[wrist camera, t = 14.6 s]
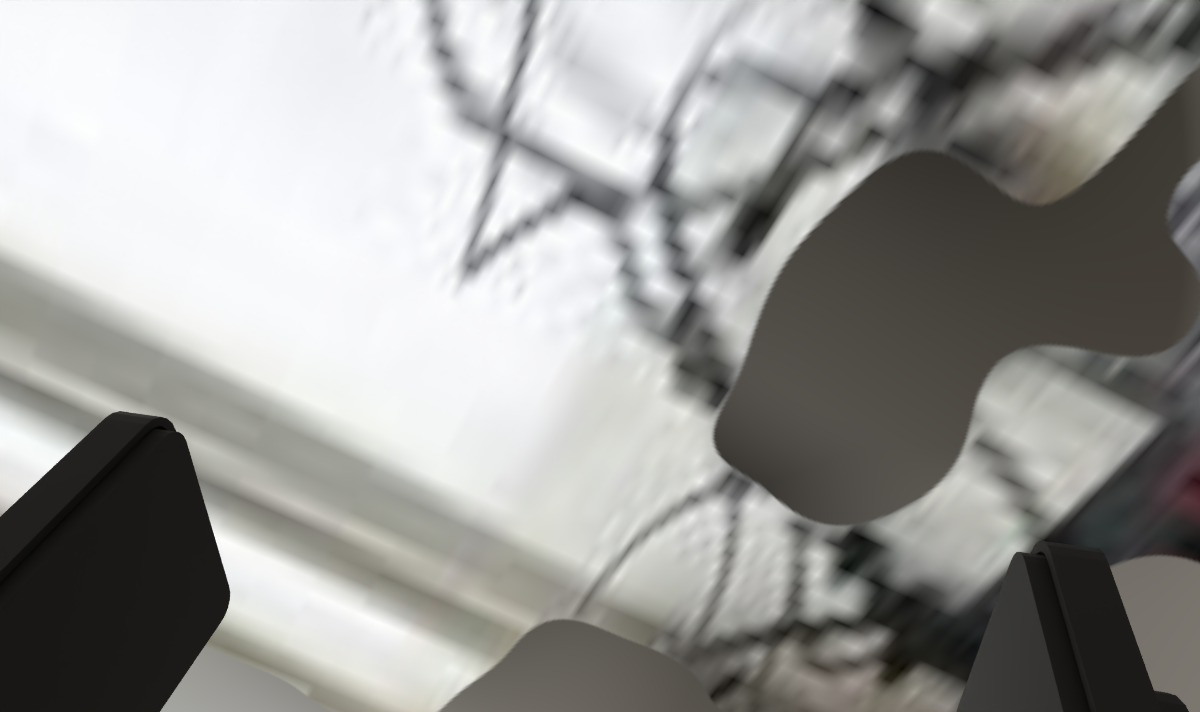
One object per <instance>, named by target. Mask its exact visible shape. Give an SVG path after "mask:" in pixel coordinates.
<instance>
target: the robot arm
mask: <svg viewBox="0 0 1200 712" xmlns="http://www.w3.org/2000/svg"><path fill="white" fill-rule="evenodd" d="M229 601H230V589H229V584H228V581H227V578H226V574H225V571H224V568H223V564H222V561H221V557H220V554H219V551H218V547H217V544H216V540H215V537H214V534H213V530H212V527H211V523H210V520H209V517H208V513H207V510H206V506H205V503H204V500H203V496H202V493H201V489H200V486H199V483H198V479H197V476H196V472H195V469H194V466H193V462H192V459H191V456H190V452H189V449H188V445H187V442H186V440H185V438H184V436H183V435H182V434H181V433H180V432H176V430H175V428H174V426H173V423H171V422H170V421H169V420H168V419H167V418H163V417H157V416H150V415H143V414H136V413H129V412H122V411H119V412H115V413H112V414H110V415H109V416H108V417H106V418H105V419H104V420H103V421H102V422H101V423H99V424H98V425H97V426H96V427H95V428H94V429H93V430H92V431H91V432H90V433H89V434H88V435H87V436H86V437H85V438H84V439H82V440H81V441H80V442H79V443H78V444H77V445H76V446H75V447H74V448H73V449H72V450H71V451H70V452H69V453H68V454H67V455H65V456H64V457H63V458H62V459H61V460H60V461H59V462H58V463H57V464H56V465H55V466H54V467H53V468H52V469H51V470H50V471H48V472H47V473H46V474H45V475H44V476H43V477H42V478H41V479H40V480H39V481H38V482H37V483H36V484H35V485H34V486H33V487H31V488H30V489H29V490H28V491H27V492H26V493H25V494H24V495H23V496H22V497H21V498H20V499H19V500H18V501H17V502H16V503H14V504H13V505H12V506H11V507H10V508H9V509H8V510H7V511H6V512H5V513H4V514H3V515H2V516H1V517H0V712H160V711H161V709H162V708H163V706H164V705H165V703H166V702H167V700H168V699H169V697H170V696H171V695H172V693H173V692H174V690H175V689H176V687H177V686H178V684H179V683H180V681H181V680H182V678H183V677H184V675H185V674H186V673H187V671H188V670H189V668H190V666H191V665H192V664H193V662H194V661H195V659H196V658H197V656H198V655H199V653H200V652H201V651H202V649H203V648H204V646H205V645H206V643H207V642H208V640H209V639H210V637H211V636H212V634H213V633H214V632H215V630H216V629H217V627H218V626H219V624H220V623H221V621H222V620H223V618H224V616H225V614H226V611H227V609H228V605H229ZM957 712H1189V711H1188V709H1187V708H1186V705H1185V704H1184V703H1183V702H1182V701H1181V700H1180V699H1179V698H1178V697H1177V696H1176V695H1172V694H1169V693H1165V692H1159V691H1154V690H1153V687H1152V684H1151V681H1150V679H1149V676H1148V673H1147V670H1146V667H1145V664H1144V662H1143V659H1142V656H1141V653H1140V650H1139V648H1138V645H1137V642H1136V639H1135V636H1134V634H1133V631H1132V628H1131V625H1130V622H1129V620H1128V617H1127V614H1126V611H1125V609H1124V606H1123V603H1122V600H1121V597H1120V594H1119V592H1118V589H1117V586H1116V583H1115V580H1114V577H1113V575H1112V572H1111V569H1110V566H1109V563H1108V561H1107V559H1106V557H1105V555H1104V553H1103V552H1102V551H1101V550H1099V549H1096V548H1089V547H1081V546H1074V545H1067V544H1060V543H1053V542H1046V541H1039V542H1038V543H1037V544H1036V545H1035V546H1034V548H1033V550H1032V552H1031V554H1029V553H1022V552H1017V553H1016V554H1015V555H1014V556H1013V558H1012V560H1011V563H1010V565H1009V568H1008V571H1007V574H1006V576H1005V579H1004V582H1003V585H1002V587H1001V590H1000V593H999V596H998V598H997V601H996V604H995V607H994V609H993V612H992V615H991V618H990V621H989V623H988V626H987V629H986V632H985V634H984V637H983V640H982V643H981V645H980V648H979V651H978V654H977V656H976V659H975V662H974V665H973V667H972V670H971V673H970V676H969V678H968V681H967V684H966V687H965V689H964V692H963V695H962V698H961V700H960V703H959V706H958V709H957Z"/></svg>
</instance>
